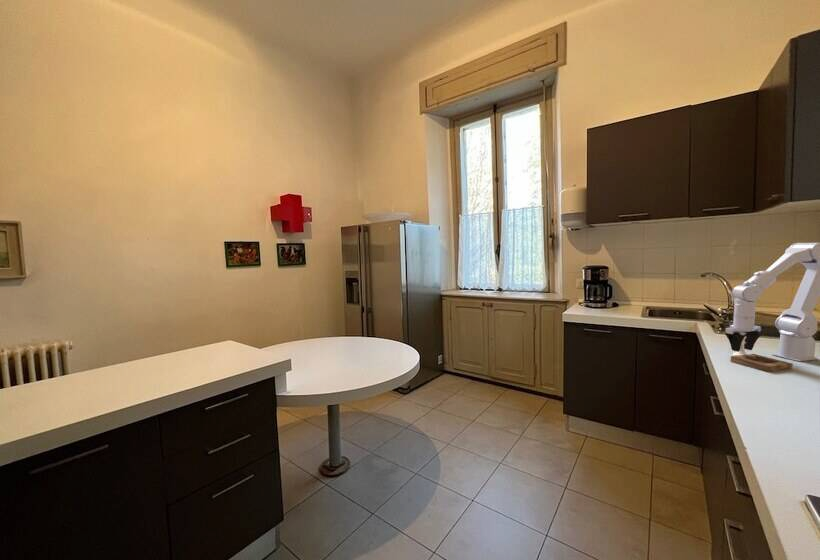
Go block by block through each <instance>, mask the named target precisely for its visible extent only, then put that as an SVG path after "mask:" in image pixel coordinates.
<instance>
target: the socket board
mask: <svg viewBox="0 0 820 560" xmlns="http://www.w3.org/2000/svg"><path fill="white" fill-rule="evenodd" d="M747 354H748V353H747ZM730 363H735V364H738V365H740V366H745V367H749V368H752V369H755V370H759V371H763V372H766V373H771V372H779V371H786V370H787V371H788V370H792V369H793V363H791V362H788V361H783V360H780V359H775V358H771V357H768V356H765V355H759V354H755V353H750V354H748V355H739V356H733V355H732V356H730Z"/></svg>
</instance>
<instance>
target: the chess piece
mask: <svg viewBox="0 0 820 560" xmlns="http://www.w3.org/2000/svg"><path fill="white" fill-rule="evenodd" d="M739 334H740V335H744V334H746V333H744V332H742V333H739ZM745 339H746V336H745V337H744V339H743V341H742V343H741V348H740V351H739V352H737V351H734V352H732V356H739V355H748V353H747V352H746V351H745V350H746V349H744V343H746V342H745Z"/></svg>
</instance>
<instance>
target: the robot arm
mask: <svg viewBox="0 0 820 560" xmlns="http://www.w3.org/2000/svg"><path fill="white" fill-rule="evenodd" d="M796 263H800V265H803V266H804V267H805V269H806V270H805V272H804V275H803V277H802V280H801V282H800V285H799V287H798V289H797V291H796V294H795V296H794V298H793V301H792V303H791V306H790V308H788V309H785V310H783V311H782V312H781V314H780V316H778V317H777V318H776V319H775V321H774V324H775V326H774V327H776V328H777V330H778V332H779V333H780V334H779V335H780V336H779V337H780V338H779V346H778V347H779V348H778V352H774V353H772V355H773V356H776V357H779V358H784V359H788V360H793V361H797V362H803V361H805V362H806V361H812V360H814V361H815V360H818V357H815V356H816V355H815V354H816V353H815V351H816V340H815V339H814V337H813V336H814V335H815V334H816V333H817V332H818V323H819V318H818V317H817V316H816V315H815V314H814V310H815V308H816V305H817V303H818V300H819V299H820V242H795V243H792V244H791V245H790V246H788V247H787V248H786V249H785V252H784V254H782V256H780V257H779V258H778V259H777V260H776V261H775V262H773V264H771V265H770V266H769V267H768V268H767V269H766V270H759V271H756V272H754V273H753V276H751V277H750V278H749V279H748V280H746V281H744V282H743V283H742V284H740V285H737V286H735V287H734V288H733V289H732V291H730V295H731V297H732V298H733V303H734V306H733V307H734V308H733V319H732V320H733V322H732V324H730V325H729V327H726V328H725V332H724V335H725V337H727V339H728V341H729V344H730V348H731V351H733V352H739V351H740V348H741V343H742V341H743V339H744V337H745V336H746V339H745V342H746V343H744V350H748V351H752V350H753V348H754V347H755V344H756V343H757V341H758V340H759V338H760V337H761V336H762V332H761V331H762V326H760V325H755V319H756V308H757V307H756V306H757V301H758V300H760V299H761V297H762V294H763V292H764V291H765V290H767V289H768V288H769V287H770V286H771V285H773V284H774V283H776V282H777V277H778V275H780V274H781V273H783V272H785V271H786V270H787V269H789V268H790V267H792V266H794V265H795V264H796ZM742 332H744V333H746V334H744V335H742V334H740V333H742Z"/></svg>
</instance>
